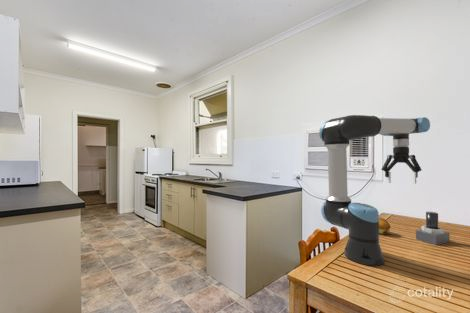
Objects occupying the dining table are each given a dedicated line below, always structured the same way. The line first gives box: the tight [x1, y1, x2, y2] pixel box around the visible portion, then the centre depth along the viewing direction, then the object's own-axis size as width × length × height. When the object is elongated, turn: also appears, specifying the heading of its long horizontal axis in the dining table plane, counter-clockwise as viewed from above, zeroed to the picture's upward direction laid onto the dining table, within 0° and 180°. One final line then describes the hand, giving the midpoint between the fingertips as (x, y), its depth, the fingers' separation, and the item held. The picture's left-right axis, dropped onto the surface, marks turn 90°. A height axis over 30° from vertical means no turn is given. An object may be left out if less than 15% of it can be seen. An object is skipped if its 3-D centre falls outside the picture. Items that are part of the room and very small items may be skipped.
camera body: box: [415, 224, 451, 246], centre depth 120 cm, size 13×9×7 cm
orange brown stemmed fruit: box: [379, 217, 391, 235], centre depth 133 cm, size 10×11×10 cm
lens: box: [425, 211, 439, 230], centre depth 121 cm, size 5×5×10 cm
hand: (401, 183), depth 128 cm, fingers open, 13 cm apart
